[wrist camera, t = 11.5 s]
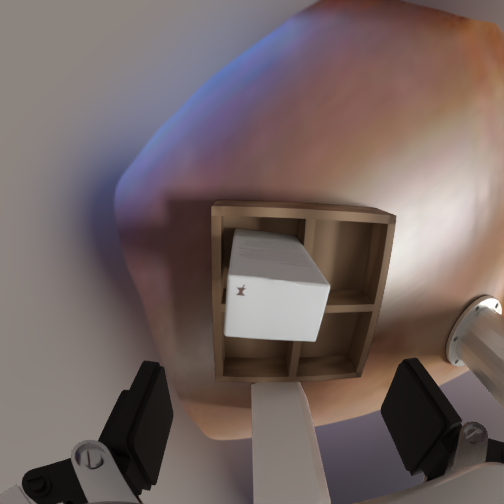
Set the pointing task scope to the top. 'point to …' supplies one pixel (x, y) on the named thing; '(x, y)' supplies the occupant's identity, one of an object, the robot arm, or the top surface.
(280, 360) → the walnut caddy
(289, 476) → the milk
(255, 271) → the skincare box
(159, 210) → the top surface
